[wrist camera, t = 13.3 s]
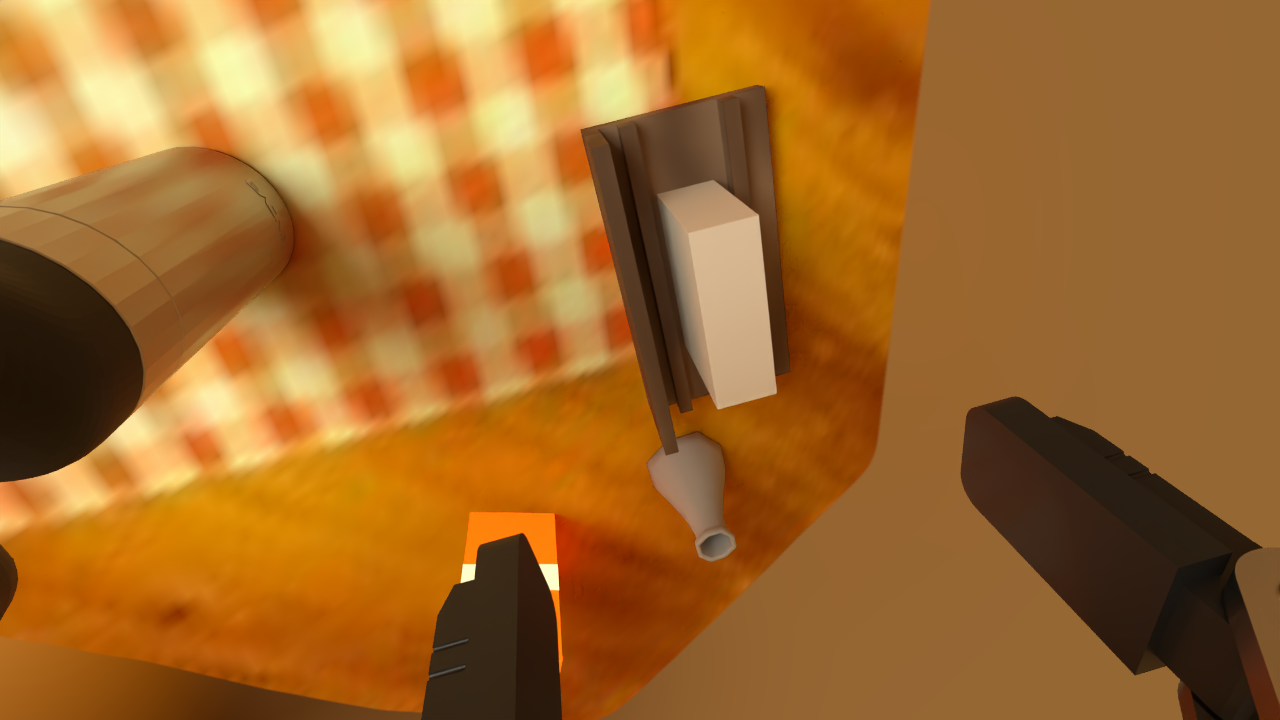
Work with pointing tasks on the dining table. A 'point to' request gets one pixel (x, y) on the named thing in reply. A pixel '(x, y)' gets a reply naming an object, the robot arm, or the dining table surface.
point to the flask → (696, 491)
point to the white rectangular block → (720, 290)
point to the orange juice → (507, 524)
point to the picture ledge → (627, 194)
